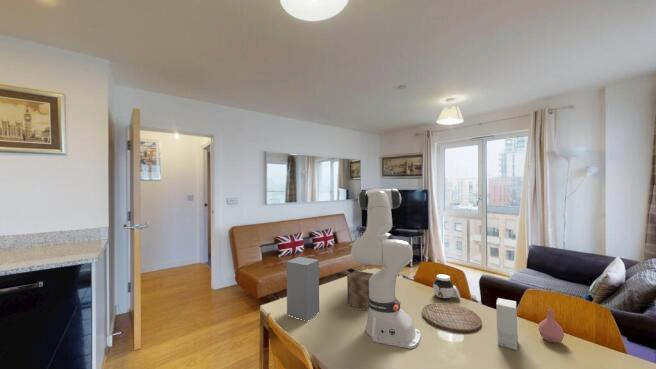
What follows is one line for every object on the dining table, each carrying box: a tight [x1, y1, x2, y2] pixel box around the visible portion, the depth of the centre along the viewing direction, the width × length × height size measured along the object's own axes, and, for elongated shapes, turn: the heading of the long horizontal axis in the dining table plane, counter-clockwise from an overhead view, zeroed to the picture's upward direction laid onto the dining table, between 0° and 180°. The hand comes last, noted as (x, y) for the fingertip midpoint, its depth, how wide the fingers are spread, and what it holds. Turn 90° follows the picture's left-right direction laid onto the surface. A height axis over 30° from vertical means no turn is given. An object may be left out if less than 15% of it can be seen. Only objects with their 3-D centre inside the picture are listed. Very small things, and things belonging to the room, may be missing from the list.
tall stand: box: [286, 256, 320, 322], centre depth 126 cm, size 12×10×26 cm
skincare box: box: [495, 297, 519, 351], centre depth 102 cm, size 8×7×16 cm
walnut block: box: [346, 270, 374, 311], centre depth 137 cm, size 12×10×15 cm
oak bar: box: [348, 242, 354, 252], centre depth 138 cm, size 4×22×3 cm, turn 149°
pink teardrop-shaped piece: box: [538, 308, 565, 343], centre depth 102 cm, size 8×8×12 cm
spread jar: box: [432, 273, 461, 301], centre depth 143 cm, size 12×11×12 cm
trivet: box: [421, 302, 483, 334], centre depth 121 cm, size 25×25×2 cm
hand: (366, 240), depth 144 cm, fingers closed on oak bar, 4 cm apart
